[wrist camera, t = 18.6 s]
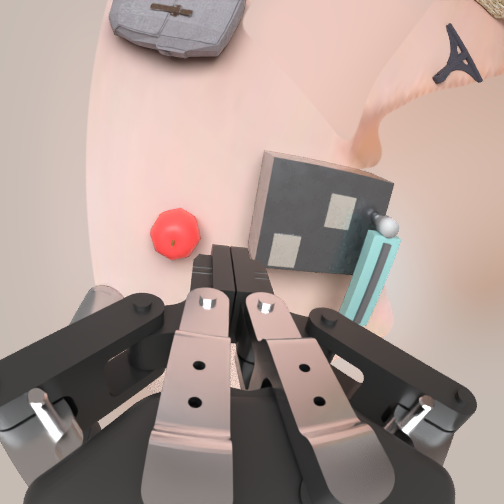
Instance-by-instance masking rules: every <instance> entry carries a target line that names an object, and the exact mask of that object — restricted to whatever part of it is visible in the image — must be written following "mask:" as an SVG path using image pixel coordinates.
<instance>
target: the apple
mask: <svg viewBox="0 0 504 504" xmlns="http://www.w3.org/2000/svg"><path fill="white" fill-rule="evenodd" d="M150 235H151V238H152V241H153V244H154V247H155V250H156V252H158V253H160V254H162V255H163V256H165V257H167V258H169V259H170V260H175V259H180V258H185V257H189V256H190V254H191V253H192V251H193V250H194V248H195V247H196V245H197V244H198V242H199V241H200V239H201V237H200V233H199V229H198V225H197V221H196V218H195V216H193V215H192V214H190V213H189V212H187V211H185V210H184V209H182V208H177V209H173V210H168V211H165V212H163V213H161V214H160V215H159V217H158V218H157V220H156V222H155V223H154V225H153V227H152V229H151V231H150Z"/></svg>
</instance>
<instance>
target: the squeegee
mask: <svg viewBox="0 0 504 504" xmlns="http://www.w3.org/2000/svg"><path fill="white" fill-rule="evenodd" d="M446 27H447V28H446V29H447V32H448V35H449V39H450V46H451V52H450V57H449V60H448V62H447V65H446V66H445V67H444V68H443V69H441V70H440V71H439V72H438V73H437V74H436V75H435V76H433V77H432V78H433V79H434V81H435V83H440V82H443V81H444V80H445V79H446V78H447V76H448V75H449V74H450V72H451V71H453V70H463V71H465V72H467V73H468V74H469V75H471V76H472V77H473V78H474V79H475V81H477V82H478V83H479V82H482V81H483V80H482V78H481V76H480V74H479V72H478V70H477V68H476V66H475V64H474V62H473V60H472V58H471V56H470V54H469V53H468V51H467V49H466V47H465V46H464V44H463V42H462V40H461V39H460V37H459V36H458V34H457V32H456V31H455V29H454V28H453V26H452V24H451V23H449V24H448V25H447V26H446ZM457 46H459V48H460V50H461V53H460V54H458V52H457ZM464 59H466V60H467V62H468V65H466V64H465V63H464V62H463V60H464Z"/></svg>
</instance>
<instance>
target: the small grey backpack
mask: <svg viewBox="0 0 504 504" xmlns="http://www.w3.org/2000/svg"><path fill="white" fill-rule="evenodd" d="M245 3H246V0H113V3H112V7H111V10H110V14H109V20H110V23H111V26H112V29H113V32H114V35H118V36H121V37H123V38H125V39H126V40H128V41H130V42H132V43H134V44H136V45H138V46H143V47H147V48H151V49H155V50H158V51H159V53H160V54H162V55H166V56H169V57H170V56H175V57H180V58H185V59H186V58H188V57H199V56H219V54H220V53H221V52H222V50H223V49H224V48H225V47H226V45H227V44H228V42H229V41H230V39H231V37H232V35H233V34H234V32H235V30H236V28H237V27H238V24H239V22H240V19H241V17H242V14H243V12H244V9H245Z"/></svg>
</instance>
